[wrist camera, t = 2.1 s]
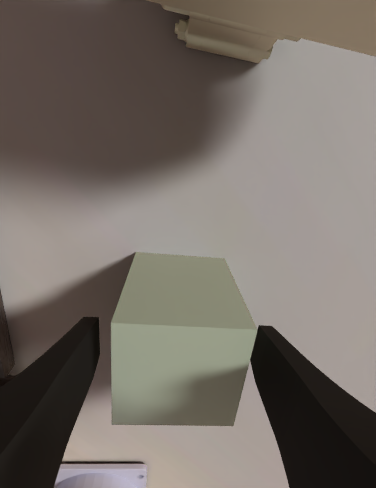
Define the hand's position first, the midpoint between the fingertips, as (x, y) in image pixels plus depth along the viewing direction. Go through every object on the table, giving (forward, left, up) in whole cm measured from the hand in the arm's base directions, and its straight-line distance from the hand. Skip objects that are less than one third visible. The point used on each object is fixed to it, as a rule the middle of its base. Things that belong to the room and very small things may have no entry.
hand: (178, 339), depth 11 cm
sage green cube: (0, 0, -4) cm, 4 cm away
